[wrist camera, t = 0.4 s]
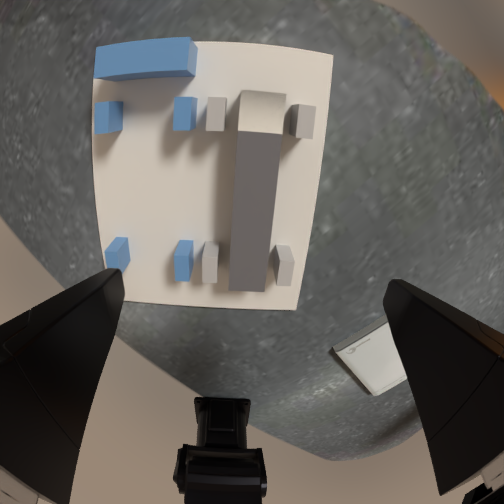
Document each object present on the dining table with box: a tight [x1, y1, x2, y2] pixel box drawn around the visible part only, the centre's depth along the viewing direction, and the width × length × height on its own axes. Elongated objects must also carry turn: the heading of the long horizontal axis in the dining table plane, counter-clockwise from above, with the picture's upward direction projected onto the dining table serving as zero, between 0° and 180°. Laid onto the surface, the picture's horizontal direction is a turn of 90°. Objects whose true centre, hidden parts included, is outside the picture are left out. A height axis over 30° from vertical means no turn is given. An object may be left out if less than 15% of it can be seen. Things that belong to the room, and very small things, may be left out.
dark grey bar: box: [228, 90, 286, 292], centre depth 18 cm, size 13×2×2 cm, turn 176°
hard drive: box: [333, 314, 407, 396], centre depth 29 cm, size 2×8×12 cm
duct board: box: [92, 37, 333, 310], centre depth 18 cm, size 20×16×4 cm
